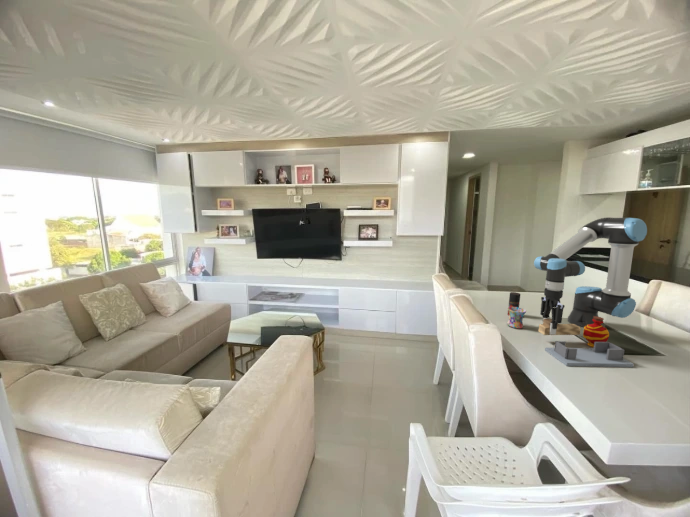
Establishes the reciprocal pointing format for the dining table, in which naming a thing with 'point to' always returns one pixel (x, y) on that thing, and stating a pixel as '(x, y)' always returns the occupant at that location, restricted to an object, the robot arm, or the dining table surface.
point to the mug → (516, 317)
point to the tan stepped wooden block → (559, 328)
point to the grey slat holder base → (590, 355)
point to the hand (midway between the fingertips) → (548, 331)
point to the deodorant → (514, 300)
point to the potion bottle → (595, 332)
